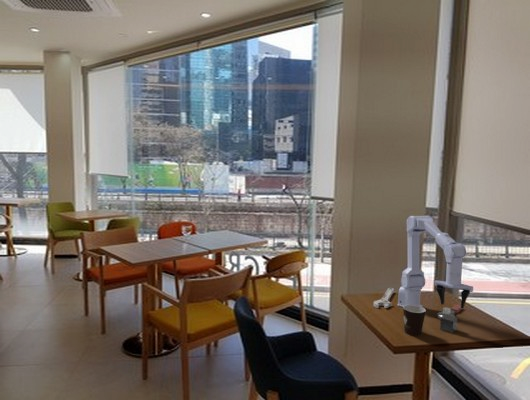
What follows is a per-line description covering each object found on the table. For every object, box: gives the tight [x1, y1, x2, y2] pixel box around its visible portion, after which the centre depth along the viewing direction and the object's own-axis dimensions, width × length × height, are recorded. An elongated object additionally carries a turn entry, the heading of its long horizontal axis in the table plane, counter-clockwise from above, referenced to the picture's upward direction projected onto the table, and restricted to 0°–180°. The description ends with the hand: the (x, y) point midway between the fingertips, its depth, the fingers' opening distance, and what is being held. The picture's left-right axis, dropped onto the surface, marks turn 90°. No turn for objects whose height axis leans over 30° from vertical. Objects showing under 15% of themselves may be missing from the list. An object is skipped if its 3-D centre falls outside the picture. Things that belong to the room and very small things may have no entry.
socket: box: [439, 315, 458, 334], centre depth 172 cm, size 5×5×5 cm
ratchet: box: [436, 303, 463, 321], centre depth 189 cm, size 7×22×5 cm, turn 138°
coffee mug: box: [402, 305, 427, 337], centre depth 169 cm, size 12×9×10 cm
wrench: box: [372, 287, 395, 309], centre depth 207 cm, size 8×2×30 cm
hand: (452, 305), depth 171 cm, fingers open, 7 cm apart
